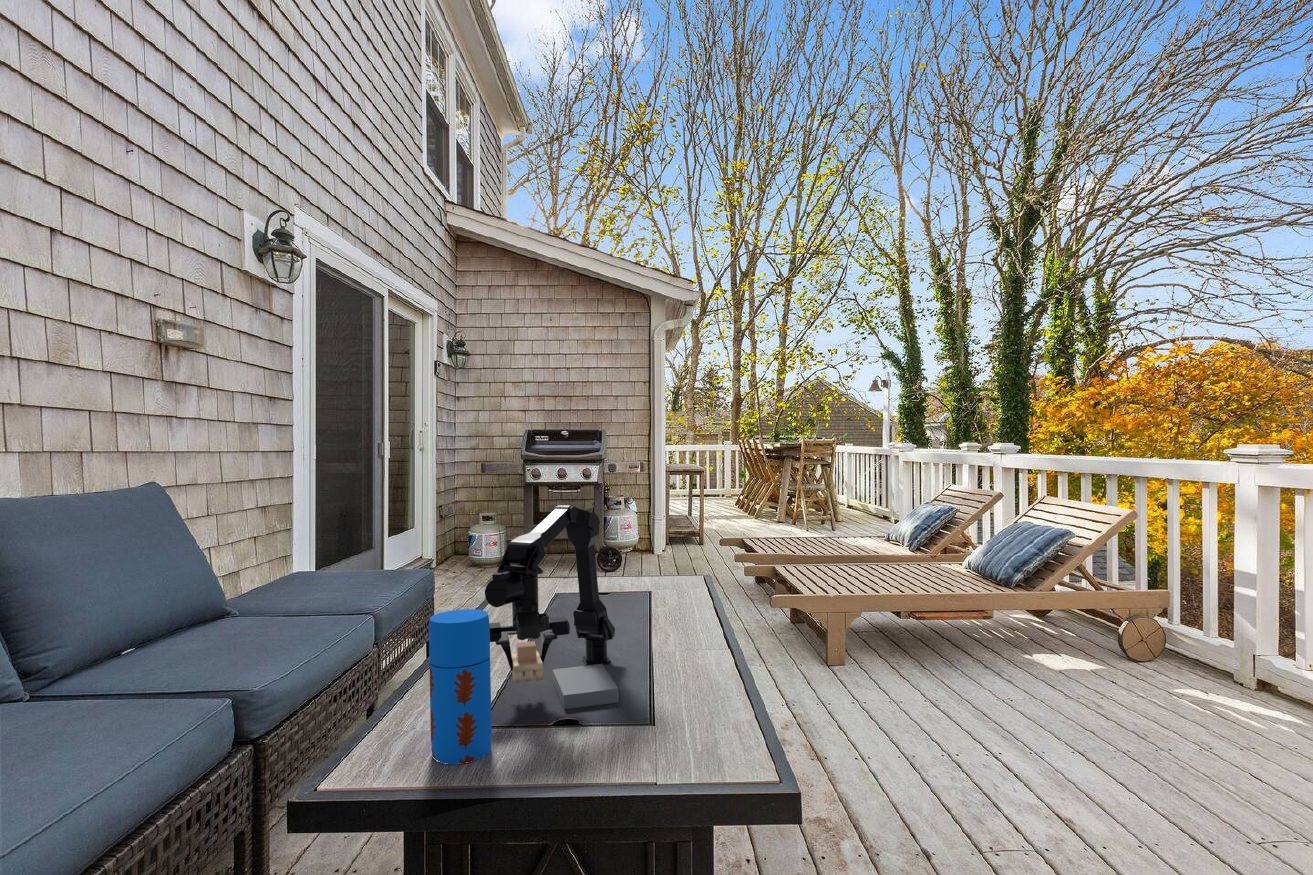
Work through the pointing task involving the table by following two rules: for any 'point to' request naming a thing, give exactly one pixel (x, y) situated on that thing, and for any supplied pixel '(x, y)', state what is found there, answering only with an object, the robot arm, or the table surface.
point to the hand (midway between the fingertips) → (526, 668)
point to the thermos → (460, 685)
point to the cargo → (526, 651)
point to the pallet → (527, 669)
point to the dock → (585, 686)
